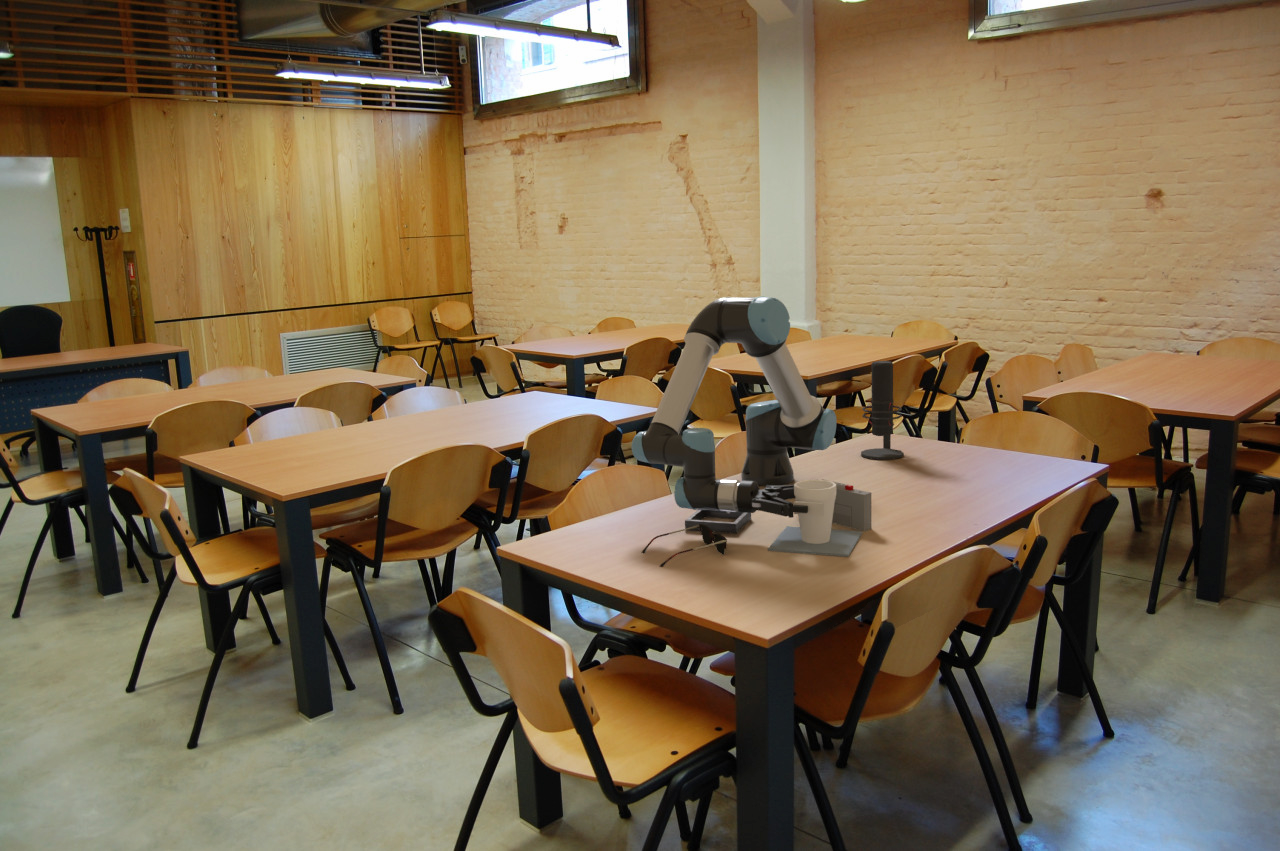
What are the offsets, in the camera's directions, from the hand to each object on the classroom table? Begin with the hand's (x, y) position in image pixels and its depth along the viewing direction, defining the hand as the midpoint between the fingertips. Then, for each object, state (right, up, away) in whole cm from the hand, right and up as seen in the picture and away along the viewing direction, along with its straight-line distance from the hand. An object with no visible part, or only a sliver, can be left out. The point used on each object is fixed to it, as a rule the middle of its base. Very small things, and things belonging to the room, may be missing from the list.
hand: (829, 501), depth 218 cm
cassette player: (+6, -7, +16) cm, 19 cm away
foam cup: (-3, -9, +3) cm, 10 cm away
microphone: (+34, +8, +88) cm, 95 cm away
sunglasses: (-33, -12, -1) cm, 36 cm away
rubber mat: (-3, -10, +3) cm, 10 cm away
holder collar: (-24, -7, +20) cm, 32 cm away
